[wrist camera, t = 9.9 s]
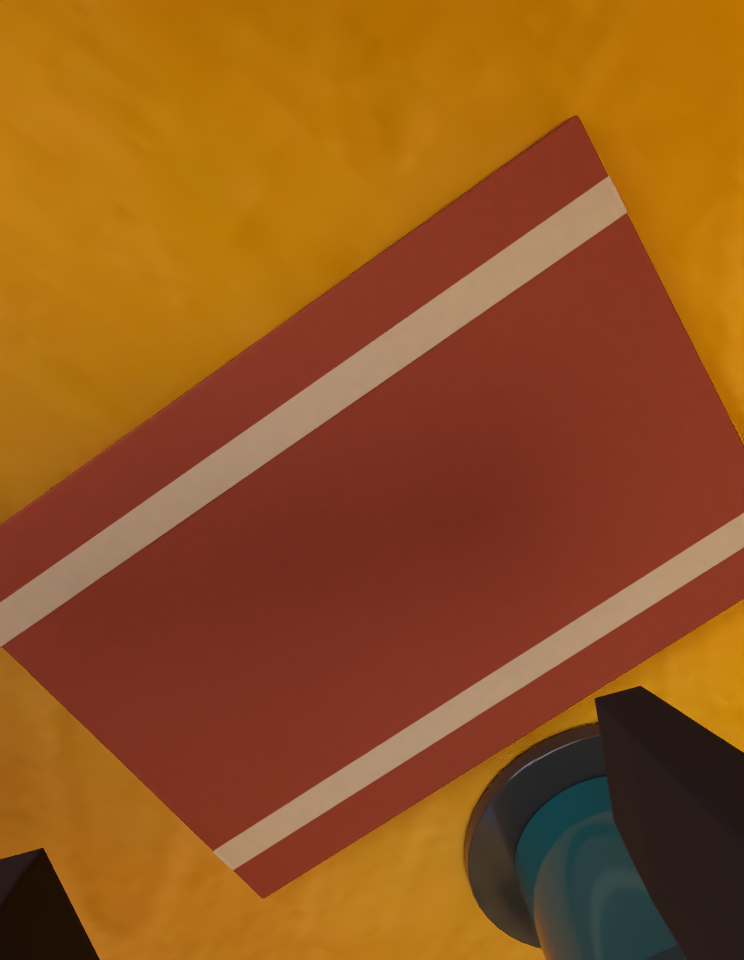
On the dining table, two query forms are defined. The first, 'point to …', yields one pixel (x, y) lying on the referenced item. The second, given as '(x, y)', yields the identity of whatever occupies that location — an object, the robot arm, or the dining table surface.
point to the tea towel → (392, 526)
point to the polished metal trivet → (522, 821)
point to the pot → (587, 883)
